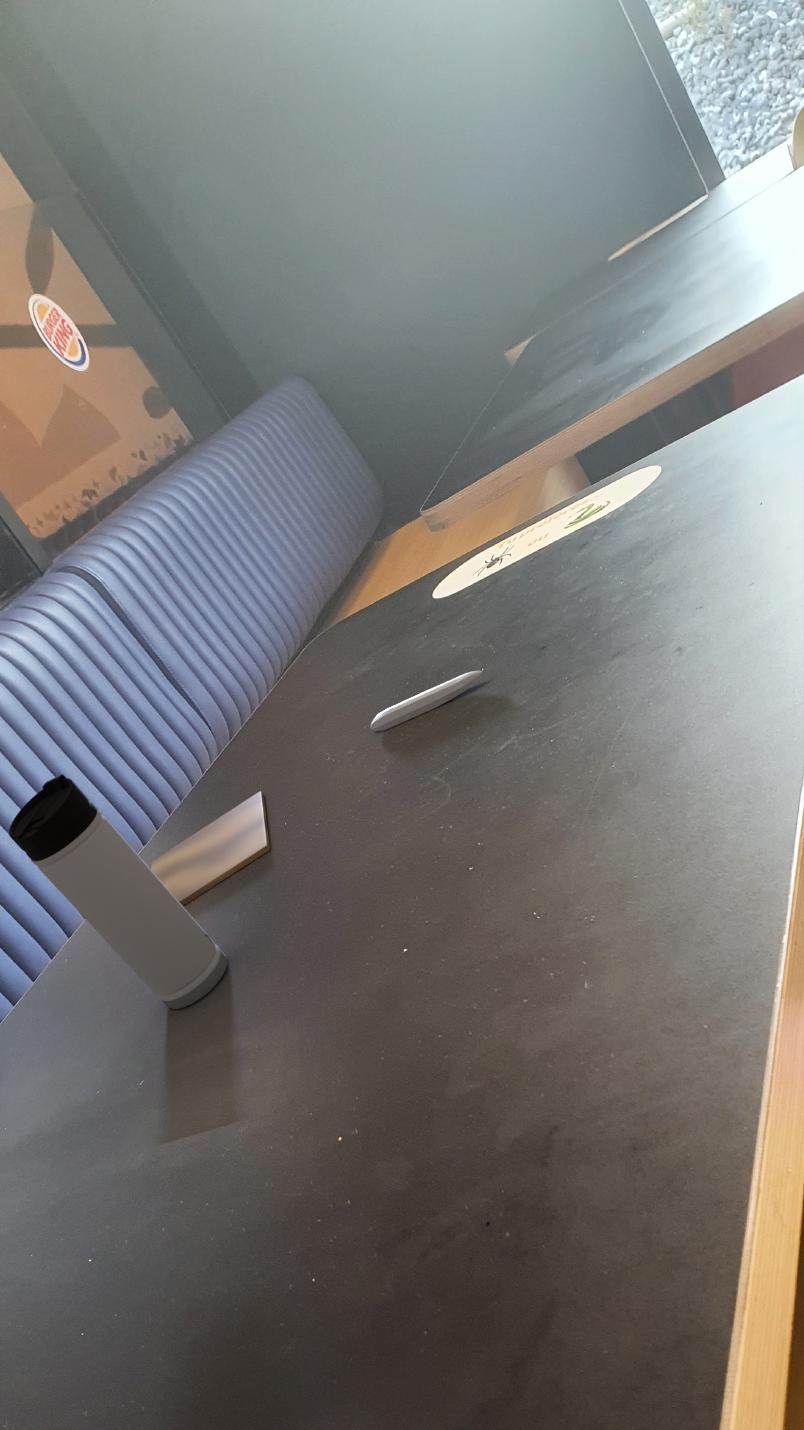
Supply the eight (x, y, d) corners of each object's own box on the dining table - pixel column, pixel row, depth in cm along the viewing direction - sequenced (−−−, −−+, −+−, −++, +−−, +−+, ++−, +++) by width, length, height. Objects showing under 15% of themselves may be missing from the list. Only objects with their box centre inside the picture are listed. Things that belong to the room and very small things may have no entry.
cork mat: (154, 865, 123) (151, 861, 122) (264, 794, 122) (260, 790, 122) (148, 928, 110) (144, 924, 110) (270, 849, 109) (266, 845, 109)
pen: (488, 685, 113) (479, 671, 112) (371, 736, 118) (363, 724, 118) (490, 677, 114) (482, 664, 113) (375, 728, 120) (366, 716, 119)
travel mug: (239, 943, 97) (84, 761, 88) (214, 998, 92) (45, 811, 83) (184, 964, 100) (27, 790, 90) (156, 1018, 95) (-14, 839, 85)
